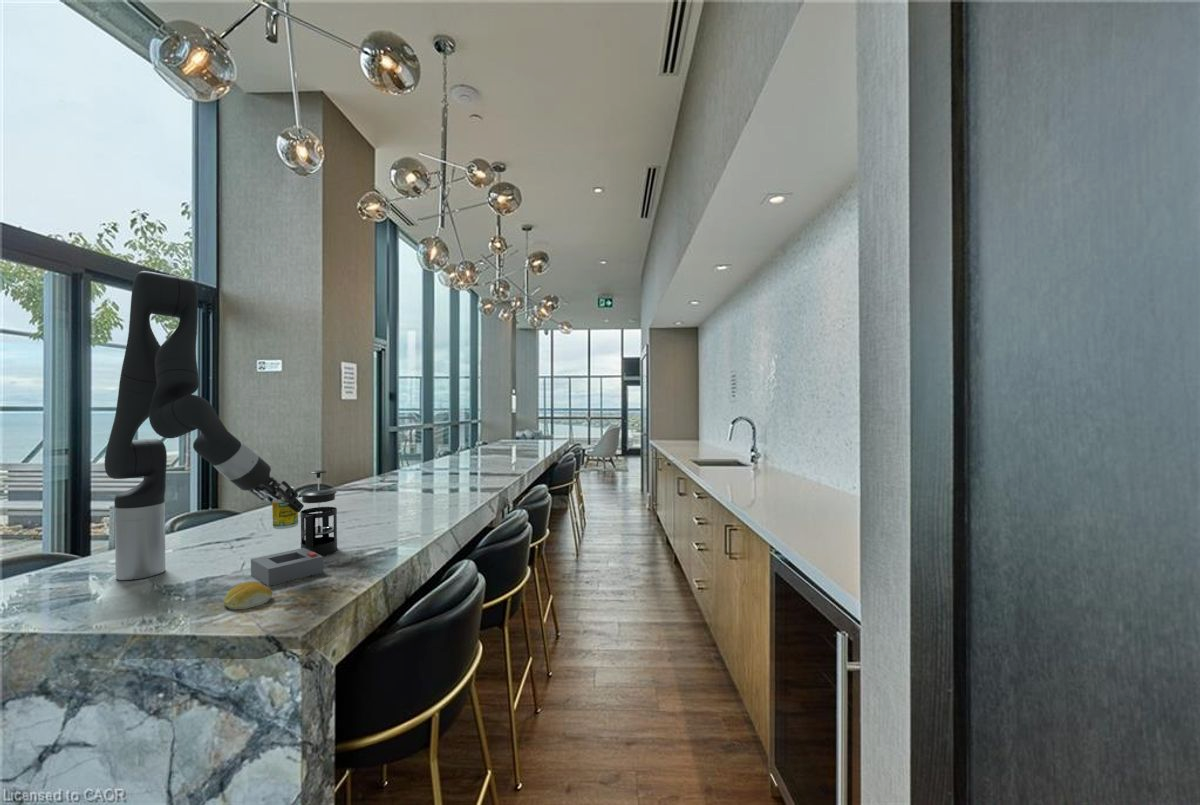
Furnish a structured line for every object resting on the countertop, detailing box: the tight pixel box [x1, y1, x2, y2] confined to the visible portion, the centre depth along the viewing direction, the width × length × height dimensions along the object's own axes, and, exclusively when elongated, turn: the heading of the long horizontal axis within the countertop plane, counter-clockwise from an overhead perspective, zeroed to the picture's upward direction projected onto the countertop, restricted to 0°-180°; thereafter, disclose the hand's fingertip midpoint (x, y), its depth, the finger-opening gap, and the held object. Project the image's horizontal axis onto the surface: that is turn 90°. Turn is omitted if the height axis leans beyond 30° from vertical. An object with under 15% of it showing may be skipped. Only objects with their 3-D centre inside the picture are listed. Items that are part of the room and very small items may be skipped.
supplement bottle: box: [271, 486, 299, 530], centre depth 127 cm, size 5×5×10 cm
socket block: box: [250, 547, 324, 587], centre depth 127 cm, size 12×12×5 cm
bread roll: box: [223, 581, 273, 611], centre depth 110 cm, size 8×9×4 cm
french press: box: [299, 469, 339, 557], centre depth 144 cm, size 12×9×23 cm
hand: (292, 508), depth 128 cm, fingers closed on supplement bottle, 5 cm apart
